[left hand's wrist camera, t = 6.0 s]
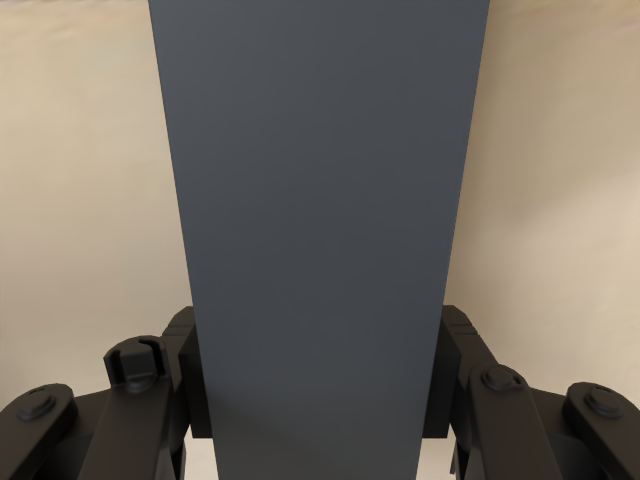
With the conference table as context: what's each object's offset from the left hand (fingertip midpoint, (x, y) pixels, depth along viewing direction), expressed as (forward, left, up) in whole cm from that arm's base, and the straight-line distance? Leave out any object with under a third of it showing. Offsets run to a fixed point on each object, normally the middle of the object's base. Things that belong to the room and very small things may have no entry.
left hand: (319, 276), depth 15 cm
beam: (+28, +20, -1) cm, 34 cm away
